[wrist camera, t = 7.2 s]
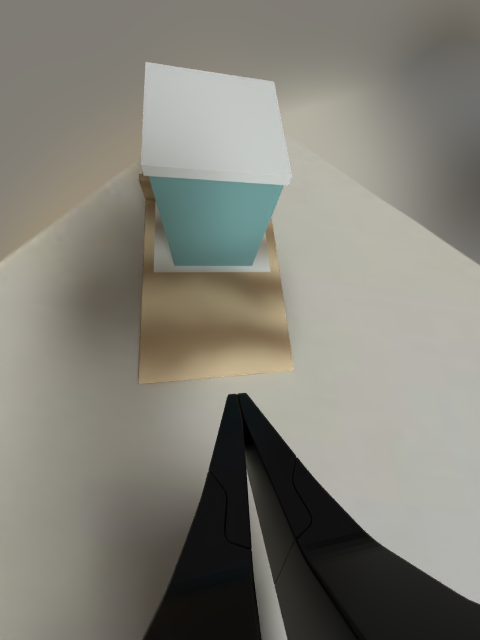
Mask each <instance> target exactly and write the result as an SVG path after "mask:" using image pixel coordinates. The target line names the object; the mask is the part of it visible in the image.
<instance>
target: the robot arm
mask: <svg viewBox="0 0 480 640" xmlns="http://www.w3.org/2000/svg"><path fill="white" fill-rule="evenodd" d="M246 468H247V472H246ZM247 473H248V477H249V481H250V485H251V489H252V493H253V498H254V502H255V506H256V510H257V514H258V518H259V523H260V527H261V531H262V535H263V539H264V543H265V547H266V552H267V556H268V560H269V564H270V568H271V572H272V577H273V581H274V584H275V589H276V593H277V598H278V602H279V606H280V610H281V614H282V618H283V623H284V627H285V631H286V635H287V639H288V640H480V604H478V603H475V602H473V601H471V600H469V599H467V598H465V597H463V596H462V595H460V594H458V593H456V592H455V591H453V590H452V589H450V588H449V587H447V586H445V585H444V584H442V583H441V582H439V581H437V580H436V579H434V578H433V577H431V576H430V575H428V574H426V573H425V572H423V571H422V570H420V569H418V568H417V567H415V566H414V565H412V564H411V563H409V562H407V561H406V560H404V559H403V558H401V557H399V556H398V555H396V554H395V553H393V552H391V551H390V550H388V549H387V548H385V547H384V546H382V545H381V544H380V543H378V542H377V541H376V540H374V539H373V538H372V537H371V536H370V535H369V534H367V533H366V532H365V531H364V530H363V529H362V528H361V527H360V526H359V525H358V524H357V523H356V522H355V521H354V520H353V519H352V517H351V516H350V515H349V514H348V513H347V512H346V511H345V510H344V509H343V508H342V507H341V506H340V505H339V504H338V503H337V502H336V501H335V500H334V499H333V498H332V497H331V496H330V494H329V493H328V492H327V491H326V490H325V489H324V488H323V487H322V486H321V485H320V484H319V483H318V482H317V480H316V479H315V478H314V477H313V476H312V475H311V473H310V472H309V471H308V470H307V469H306V467H305V466H304V465H303V464H302V462H301V461H300V460H299V459H298V458H296V455H295V454H294V453H293V451H292V450H291V449H290V447H289V446H288V445H287V444H286V442H285V441H284V440H283V439H282V437H281V436H280V435H279V434H278V432H277V431H276V430H275V429H274V427H273V426H272V425H271V424H270V422H269V421H268V420H267V418H266V417H265V416H264V415H263V413H262V412H261V411H260V410H259V408H258V407H257V406H256V405H255V403H254V402H253V401H252V400H251V398H250V397H249V396H248V395H247V394H246V393H239V394H229V395H228V396H227V400H226V404H225V408H224V412H223V416H222V420H221V424H220V427H219V431H218V435H217V439H216V443H215V447H214V451H213V455H212V459H211V462H210V466H209V472H208V474H207V478H206V481H205V485H204V489H203V492H202V496H201V499H200V502H199V505H198V508H197V511H196V513H195V516H194V519H193V522H192V525H191V527H190V530H189V533H188V535H187V538H186V540H185V543H184V546H183V548H182V551H181V554H180V556H179V559H178V562H177V564H176V567H175V570H174V572H173V575H172V577H171V580H170V582H169V585H168V587H167V589H166V592H165V594H164V596H163V598H162V600H161V603H160V605H159V607H158V609H157V611H156V613H155V615H154V617H153V619H152V621H151V623H150V625H149V627H148V629H147V631H146V633H145V635H144V637H143V639H142V640H262V639H261V631H260V623H259V615H258V607H257V600H256V592H255V583H254V573H253V562H252V551H251V533H250V517H249V502H248V487H247Z"/></svg>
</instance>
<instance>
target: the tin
mask: <svg viewBox="0 0 480 640" xmlns="http://www.w3.org/2000/svg"><path fill="white" fill-rule="evenodd" d="M143 109H144V110H143V128H142V149H141V168H142V171H143V174H144V176H149V179H150V182H151V186H152V189H153V193H154V196H155V199H156V203H157V206H158V210H159V213H160V217H161V220H162V224H163V227H164V231H165V234H166V238H167V241H168V245H169V248H170V252H171V255H172V258H173V262H174V265H175V266H252V265H253V262H254V260H255V257H256V254H257V252H258V249H259V247H260V244H261V242H262V239H263V237H264V234H265V232H266V229H267V227H268V224H269V221H270V219H271V216H272V214H273V211H274V209H275V206H276V204H277V201H278V199H279V196H280V194H281V191H282V189H283V186H284V185H289V183H290V180H291V178H292V174H291V169H290V163H289V158H288V153H287V148H286V142H285V137H284V132H283V127H282V121H281V116H280V111H279V106H278V100H277V95H276V90H275V85H274V82H272V81H266V80H259V79H252V78H246V77H240V76H233V75H226V74H220V73H213V72H207V71H200V70H194V69H187V68H180V67H174V66H168V65H161V64H155V63H148V62H146V68H145V88H144V108H143Z"/></svg>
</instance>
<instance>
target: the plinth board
mask: <svg viewBox="0 0 480 640" xmlns="http://www.w3.org/2000/svg"><path fill="white" fill-rule="evenodd" d="M139 182H140V184H141V187H142V190H143V193H144V196H145V199H146V210H145V235H144V260H143V285H142V311H141V336H140V361H139V384H146V383H157V382H169V381H180V380H192V379H203V378H215V377H226V376H238V375H249V374H261V373H272V372H284V371H294V367H293V360H292V354H291V347H290V340H289V333H288V327H287V320H286V313H285V306H284V300H283V293H282V286H281V279H280V273H279V266H278V259H277V252H276V245H275V239H274V232H273V225H272V218H271V219H270V221H269V224H268V227H267V229H266V232H265V234H264V237H263V239H262V242H261V244H260V247H259V249H258V252H257V254H256V257H255V260H254V262H253V265H252V266H175V265H174V262H173V258H172V255H171V252H170V248H169V245H168V241H167V238H166V234H165V231H164V227H163V224H162V220H161V217H160V213H159V210H158V206H157V203H156V199H155V196H154V193H153V189H152V186H151V182H150V179H149V176H144V174H139Z"/></svg>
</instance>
